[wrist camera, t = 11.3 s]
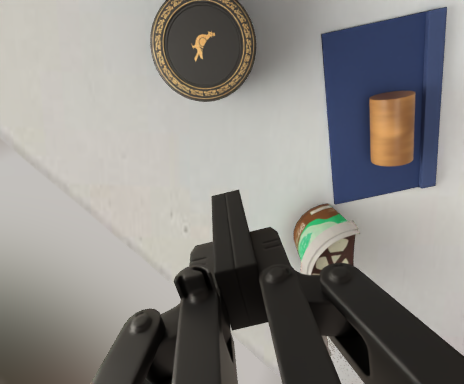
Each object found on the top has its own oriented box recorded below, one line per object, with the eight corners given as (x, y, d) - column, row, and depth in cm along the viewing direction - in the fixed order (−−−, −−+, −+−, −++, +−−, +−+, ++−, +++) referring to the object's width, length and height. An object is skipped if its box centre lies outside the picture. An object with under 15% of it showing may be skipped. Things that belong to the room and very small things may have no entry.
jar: (156, 87, 37) (144, 93, 30) (164, -11, 33) (152, -31, 26) (239, 102, 38) (246, 111, 31) (256, 9, 34) (268, -4, 27)
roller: (382, 101, 34) (425, 92, 34) (362, 97, 39) (400, 89, 39) (382, 169, 37) (422, 161, 37) (364, 158, 42) (399, 150, 42)
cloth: (321, 34, 36) (324, 33, 35) (441, 8, 36) (447, 6, 35) (334, 203, 44) (336, 206, 43) (431, 183, 44) (435, 185, 43)
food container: (285, 198, 43) (306, 234, 34) (328, 193, 44) (360, 228, 34) (285, 270, 48) (304, 319, 39) (325, 266, 48) (352, 314, 39)
